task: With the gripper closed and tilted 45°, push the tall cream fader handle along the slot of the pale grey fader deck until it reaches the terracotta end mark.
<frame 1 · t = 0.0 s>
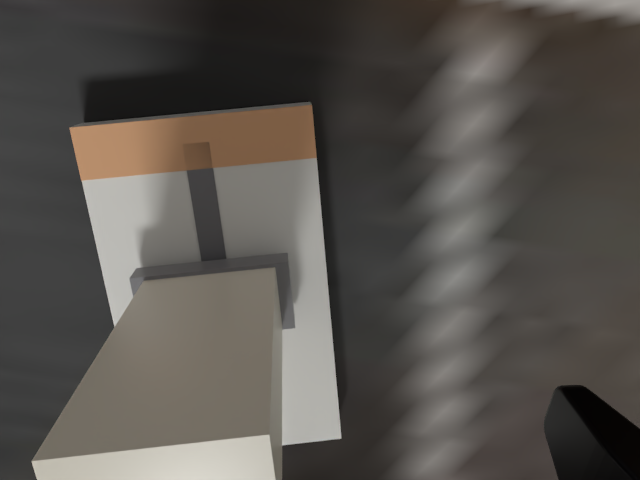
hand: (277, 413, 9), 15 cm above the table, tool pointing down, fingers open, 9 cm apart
fader deck: (223, 285, 25), on the table
fader handle: (197, 363, 18), point 7 cm above the table, slide at 0.0 cm
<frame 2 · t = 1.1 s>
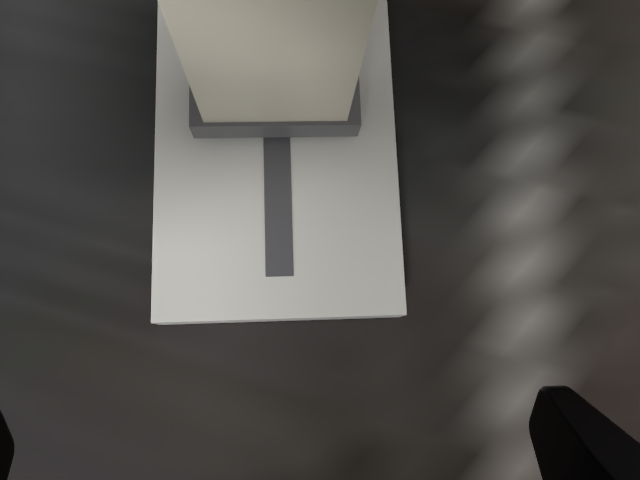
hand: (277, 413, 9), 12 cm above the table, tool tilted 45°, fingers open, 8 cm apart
fader deck: (277, 133, 23), on the table
fader handle: (271, 15, 16), point 7 cm above the table, slide at 0.0 cm
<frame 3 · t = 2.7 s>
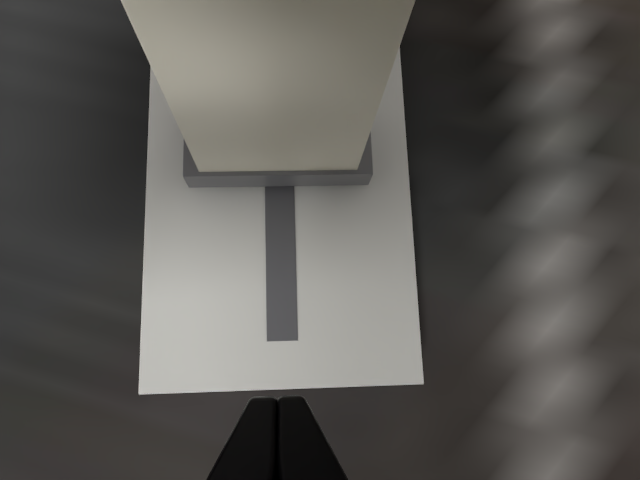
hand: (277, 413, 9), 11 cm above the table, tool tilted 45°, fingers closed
fader deck: (279, 179, 21), on the table
fader handle: (274, 60, 14), point 7 cm above the table, slide at 0.0 cm
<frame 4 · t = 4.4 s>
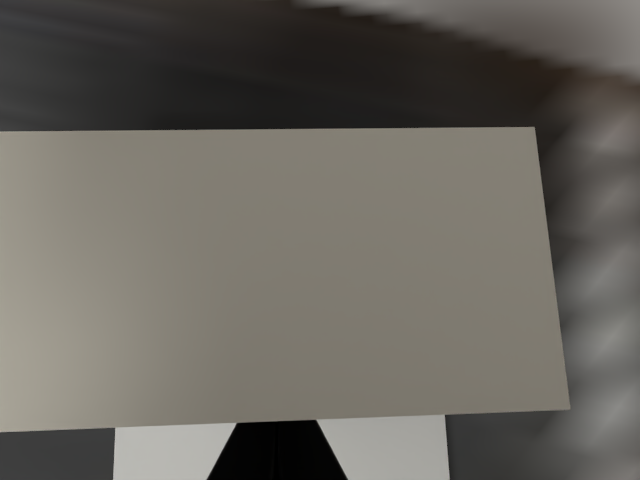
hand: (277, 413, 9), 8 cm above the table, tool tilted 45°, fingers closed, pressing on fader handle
fader deck: (283, 395, 17), on the table
fader handle: (277, 321, 10), point 7 cm above the table, slide at 1.1 cm, touching gripper
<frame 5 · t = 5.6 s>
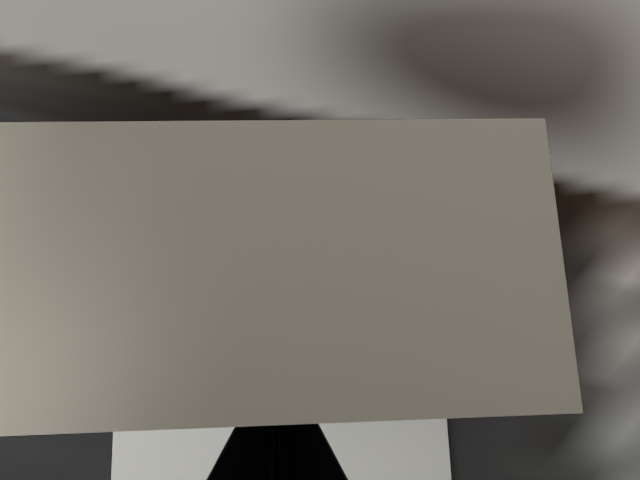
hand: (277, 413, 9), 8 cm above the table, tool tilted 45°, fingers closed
fader handle: (276, 319, 10), point 7 cm above the table, slide at 5.9 cm
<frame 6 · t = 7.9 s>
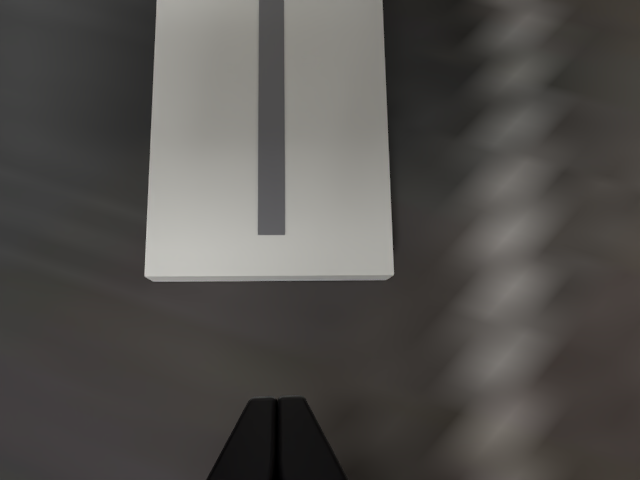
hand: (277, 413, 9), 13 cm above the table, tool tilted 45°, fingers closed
fader deck: (271, 100, 23), on the table
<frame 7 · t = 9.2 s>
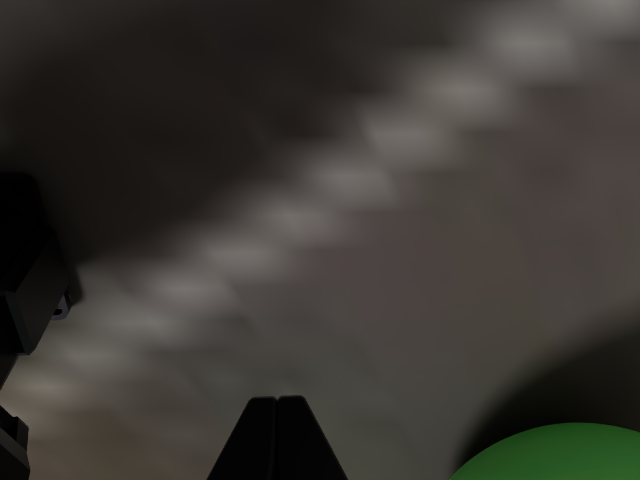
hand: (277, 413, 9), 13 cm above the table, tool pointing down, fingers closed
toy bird: (532, 469, 32), on the table
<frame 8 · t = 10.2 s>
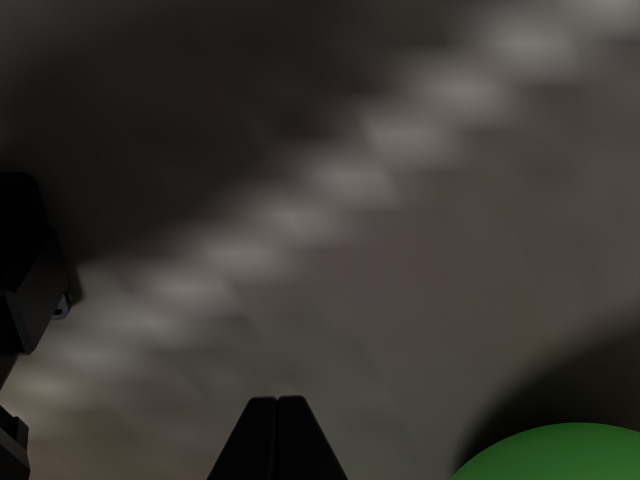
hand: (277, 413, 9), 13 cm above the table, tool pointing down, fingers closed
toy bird: (533, 469, 32), on the table
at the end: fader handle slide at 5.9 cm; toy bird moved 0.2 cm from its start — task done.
